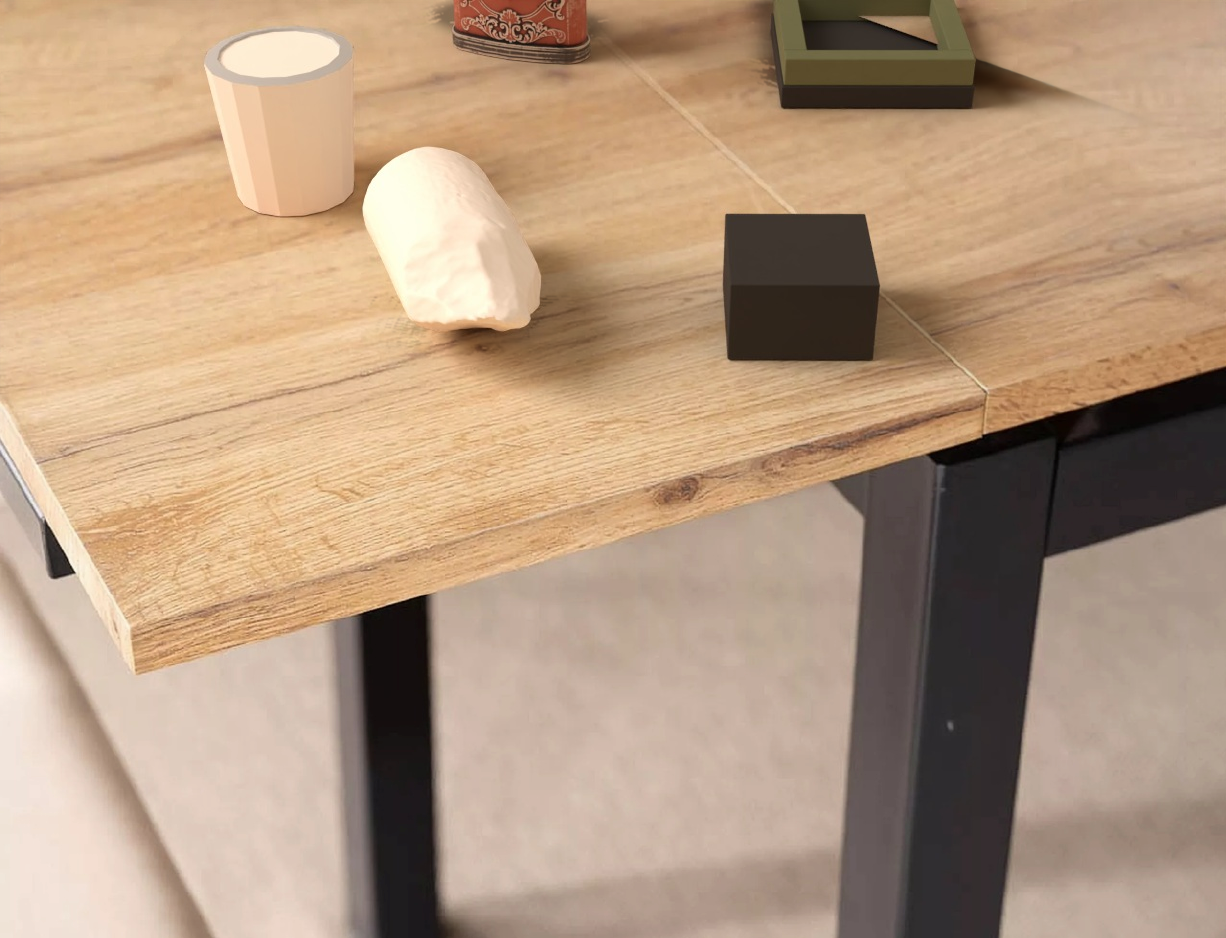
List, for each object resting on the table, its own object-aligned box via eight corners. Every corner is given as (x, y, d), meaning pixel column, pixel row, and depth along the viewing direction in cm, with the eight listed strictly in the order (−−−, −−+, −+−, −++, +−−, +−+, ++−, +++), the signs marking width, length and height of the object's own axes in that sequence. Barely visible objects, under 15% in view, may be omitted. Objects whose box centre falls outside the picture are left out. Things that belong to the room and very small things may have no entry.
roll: (429, 408, 69) (418, 287, 66) (366, 265, 79) (354, 151, 75) (573, 381, 71) (570, 261, 68) (495, 243, 80) (489, 131, 77)
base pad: (946, 32, 99) (951, -14, 98) (972, 108, 91) (978, 59, 90) (770, 32, 99) (772, -14, 98) (780, 108, 91) (783, 59, 90)
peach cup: (231, 231, 81) (210, 91, 77) (218, 166, 86) (197, 31, 82) (378, 211, 83) (364, 73, 78) (356, 149, 88) (342, 15, 84)
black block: (858, 285, 77) (865, 213, 75) (872, 360, 72) (880, 284, 70) (722, 285, 77) (725, 212, 75) (727, 359, 72) (730, 284, 70)
